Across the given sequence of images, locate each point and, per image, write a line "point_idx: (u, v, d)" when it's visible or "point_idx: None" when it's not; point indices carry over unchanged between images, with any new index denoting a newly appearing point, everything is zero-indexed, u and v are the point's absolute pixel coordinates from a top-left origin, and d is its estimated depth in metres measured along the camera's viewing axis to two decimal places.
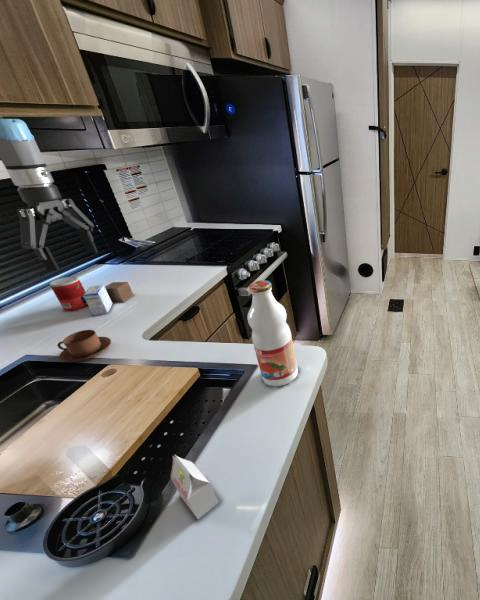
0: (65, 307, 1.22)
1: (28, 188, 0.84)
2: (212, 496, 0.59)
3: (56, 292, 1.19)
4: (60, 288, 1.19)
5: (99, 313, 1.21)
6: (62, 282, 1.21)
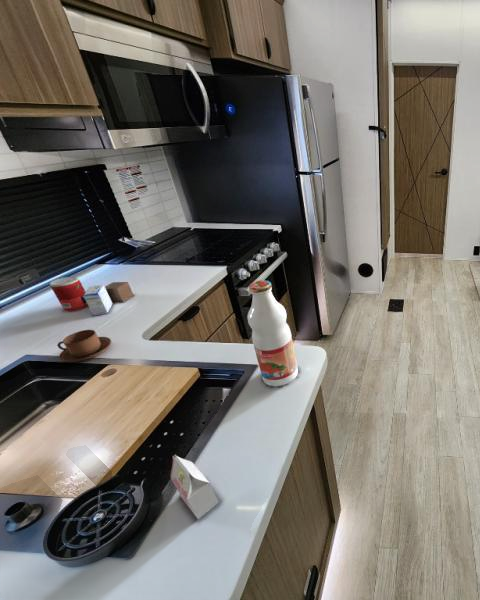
0: (65, 307, 1.22)
1: None
2: (212, 496, 0.59)
3: (56, 292, 1.19)
4: (60, 288, 1.19)
5: (99, 313, 1.21)
6: (62, 282, 1.21)
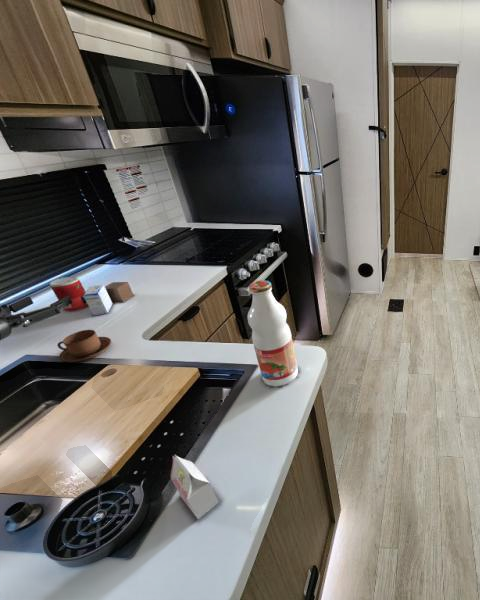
0: (65, 307, 1.22)
1: None
2: (212, 496, 0.59)
3: (56, 292, 1.19)
4: (60, 288, 1.19)
5: (99, 313, 1.21)
6: (62, 282, 1.21)
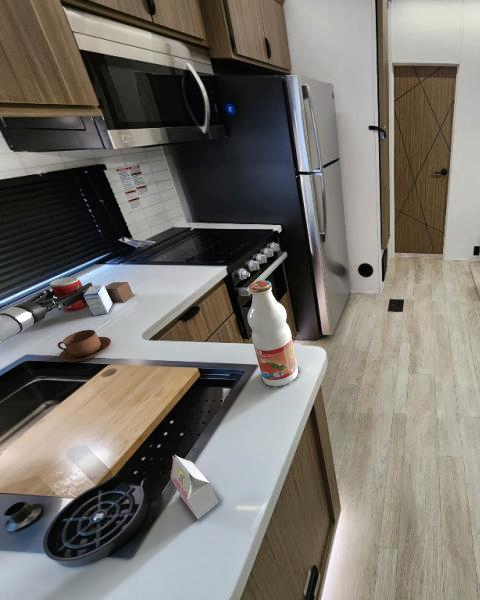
0: (65, 307, 1.22)
1: None
2: (212, 496, 0.59)
3: (56, 292, 1.19)
4: (61, 288, 1.19)
5: (99, 313, 1.21)
6: (62, 282, 1.21)
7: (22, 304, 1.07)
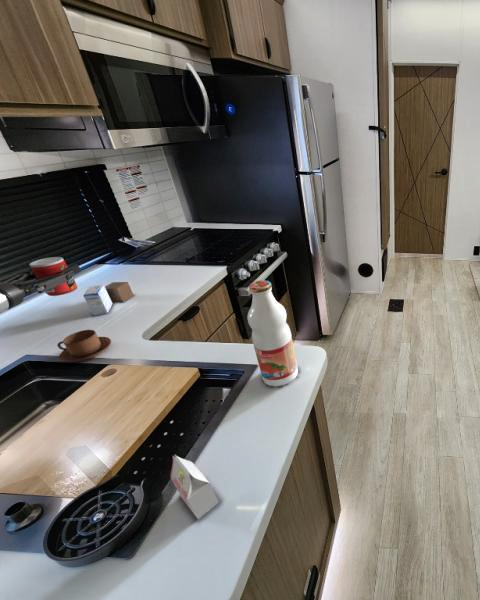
0: (48, 291, 1.08)
1: None
2: (212, 496, 0.59)
3: (37, 273, 1.05)
4: (42, 269, 1.04)
5: (99, 313, 1.21)
6: (44, 262, 1.06)
7: None
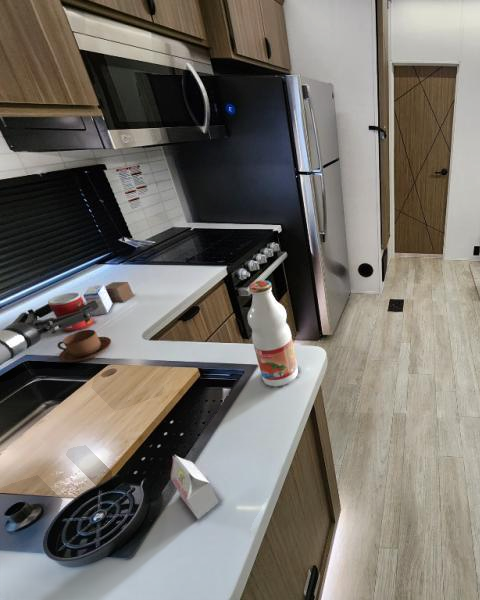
0: None
1: None
2: (212, 496, 0.59)
3: (55, 311, 1.07)
4: (60, 307, 1.07)
5: (99, 313, 1.21)
6: (62, 299, 1.09)
7: (13, 326, 0.94)
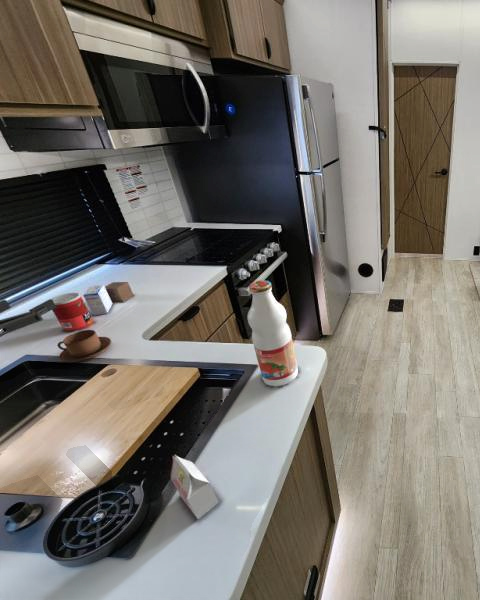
0: (65, 327, 1.10)
1: None
2: (212, 496, 0.59)
3: (55, 311, 1.07)
4: (60, 307, 1.07)
5: (99, 313, 1.21)
6: (62, 299, 1.09)
7: None
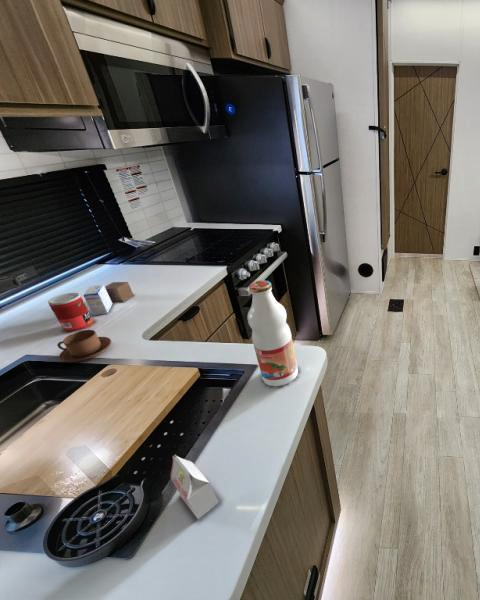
0: (65, 327, 1.10)
1: None
2: (212, 496, 0.59)
3: (55, 311, 1.07)
4: (60, 307, 1.07)
5: (99, 313, 1.21)
6: (62, 299, 1.09)
7: None
